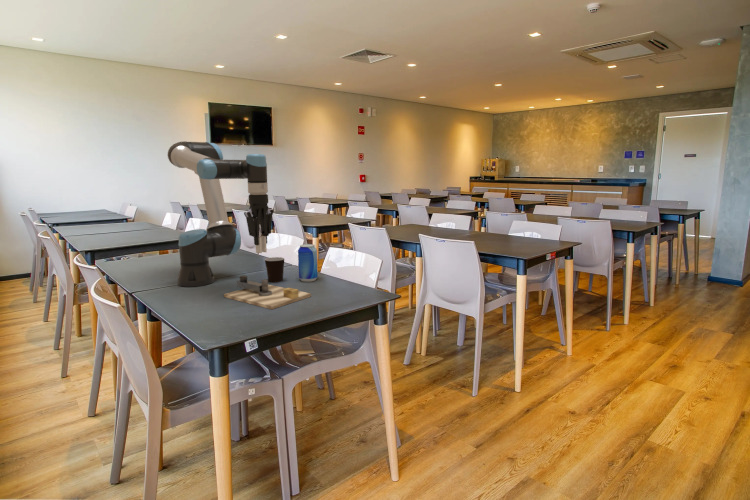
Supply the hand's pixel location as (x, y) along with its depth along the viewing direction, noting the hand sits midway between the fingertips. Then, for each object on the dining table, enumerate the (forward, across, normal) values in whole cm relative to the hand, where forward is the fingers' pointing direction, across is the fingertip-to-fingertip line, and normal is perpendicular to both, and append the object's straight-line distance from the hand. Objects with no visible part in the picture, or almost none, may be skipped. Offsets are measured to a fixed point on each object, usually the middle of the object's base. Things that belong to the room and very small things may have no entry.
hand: (261, 252), depth 176 cm
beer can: (+17, +25, -1) cm, 30 cm away
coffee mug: (+17, +17, +11) cm, 26 cm away
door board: (+16, -5, -7) cm, 19 cm away
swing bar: (+14, -5, +1) cm, 15 cm away
